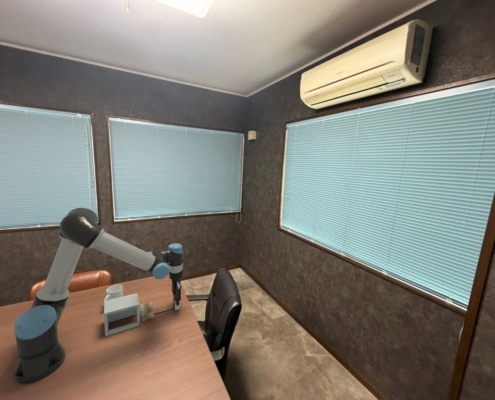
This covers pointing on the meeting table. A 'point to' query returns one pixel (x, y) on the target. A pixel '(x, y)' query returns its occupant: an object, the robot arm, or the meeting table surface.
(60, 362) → the robot arm
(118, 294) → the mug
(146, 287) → the meeting table surface
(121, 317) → the box
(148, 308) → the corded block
